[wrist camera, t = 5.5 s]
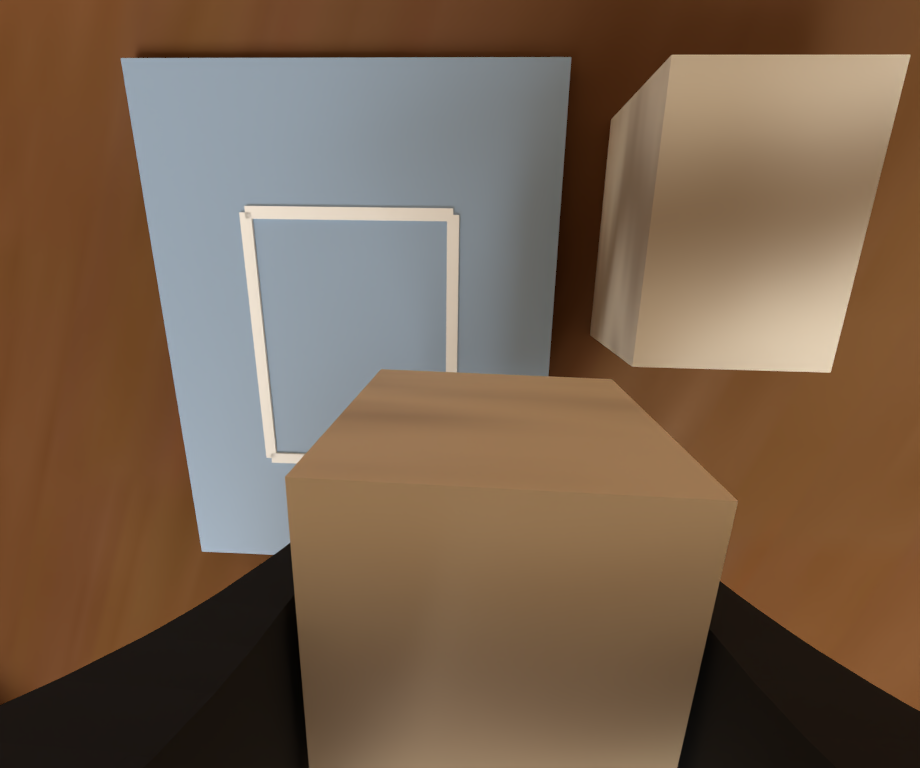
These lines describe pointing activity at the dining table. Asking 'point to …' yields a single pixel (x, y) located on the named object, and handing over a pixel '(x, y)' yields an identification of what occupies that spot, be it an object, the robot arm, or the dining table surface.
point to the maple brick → (501, 576)
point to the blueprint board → (338, 245)
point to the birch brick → (741, 208)
